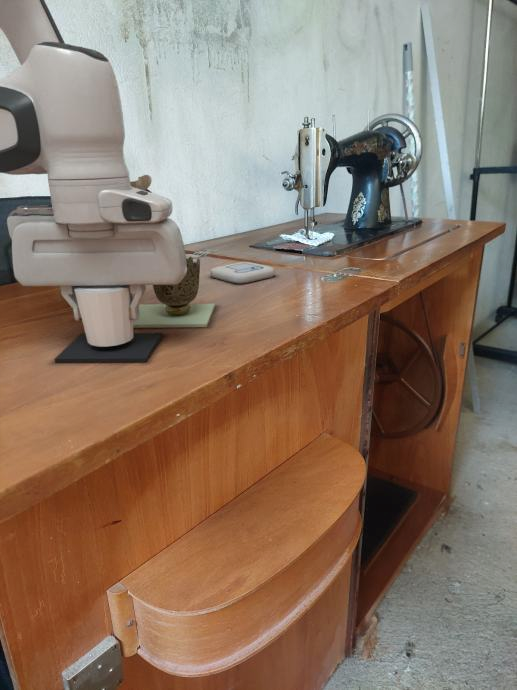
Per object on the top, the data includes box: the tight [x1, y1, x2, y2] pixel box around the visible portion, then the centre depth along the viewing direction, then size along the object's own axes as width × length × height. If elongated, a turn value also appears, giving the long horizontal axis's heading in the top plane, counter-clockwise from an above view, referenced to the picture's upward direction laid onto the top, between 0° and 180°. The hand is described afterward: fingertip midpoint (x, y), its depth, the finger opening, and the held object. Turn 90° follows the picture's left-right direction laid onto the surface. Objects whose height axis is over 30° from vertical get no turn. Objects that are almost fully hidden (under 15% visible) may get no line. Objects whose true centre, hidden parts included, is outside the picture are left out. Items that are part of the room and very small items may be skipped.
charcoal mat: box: [54, 332, 163, 364], centre depth 65 cm, size 11×9×1 cm
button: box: [210, 261, 276, 285], centre depth 100 cm, size 10×2×10 cm
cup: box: [152, 256, 201, 316], centre depth 76 cm, size 8×7×8 cm
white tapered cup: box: [74, 285, 134, 347], centre depth 64 cm, size 7×7×7 cm
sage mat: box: [133, 303, 216, 329], centre depth 77 cm, size 12×10×1 cm
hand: (108, 319), depth 64 cm, fingers closed on white tapered cup, 5 cm apart
